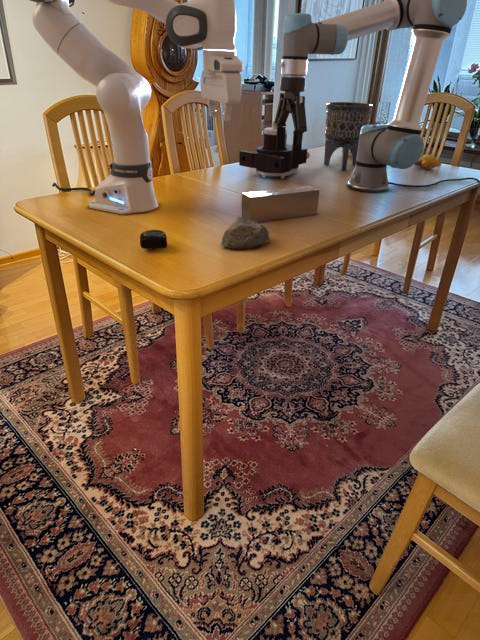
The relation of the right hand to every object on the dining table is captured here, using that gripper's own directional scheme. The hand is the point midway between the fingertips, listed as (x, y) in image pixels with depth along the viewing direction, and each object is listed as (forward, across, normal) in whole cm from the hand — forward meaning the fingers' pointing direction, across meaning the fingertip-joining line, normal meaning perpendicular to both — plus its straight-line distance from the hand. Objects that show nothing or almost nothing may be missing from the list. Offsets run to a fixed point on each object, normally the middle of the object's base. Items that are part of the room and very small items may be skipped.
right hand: (287, 152), depth 144 cm
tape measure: (+18, +28, -47) cm, 58 cm away
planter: (+17, -54, +50) cm, 75 cm away
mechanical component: (+17, -47, +17) cm, 53 cm away
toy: (+17, -44, +89) cm, 101 cm away
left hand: (-10, +5, -24) cm, 27 cm away
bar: (+18, +10, -5) cm, 21 cm away
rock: (+18, +31, -23) cm, 43 cm away
